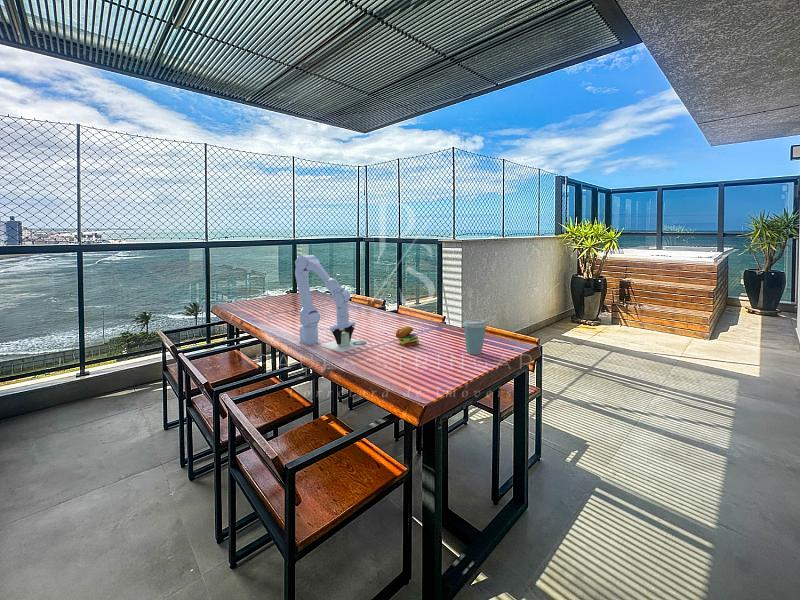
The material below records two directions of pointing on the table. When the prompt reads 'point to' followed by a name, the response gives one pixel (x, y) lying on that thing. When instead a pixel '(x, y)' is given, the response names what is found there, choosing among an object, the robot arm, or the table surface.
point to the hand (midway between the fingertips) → (343, 342)
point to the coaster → (359, 343)
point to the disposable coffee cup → (474, 335)
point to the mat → (334, 346)
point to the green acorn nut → (344, 339)
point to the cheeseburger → (407, 336)
